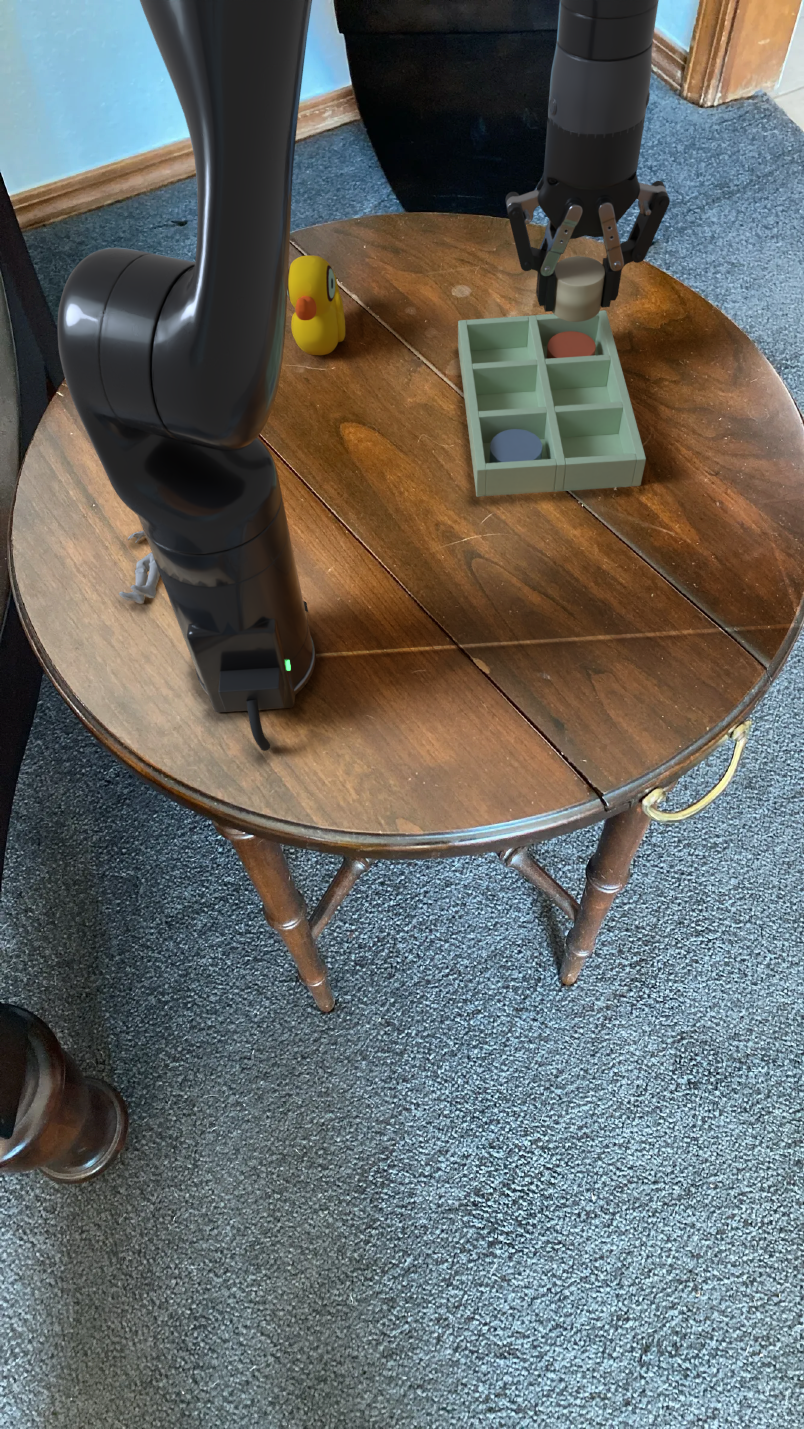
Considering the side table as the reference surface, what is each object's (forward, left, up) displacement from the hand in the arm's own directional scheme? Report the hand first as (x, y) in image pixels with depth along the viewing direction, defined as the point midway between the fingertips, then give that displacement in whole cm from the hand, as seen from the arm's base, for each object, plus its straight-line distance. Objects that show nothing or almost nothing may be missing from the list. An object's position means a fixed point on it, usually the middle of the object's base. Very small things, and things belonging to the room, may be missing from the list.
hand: (575, 303), depth 89 cm
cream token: (0, 0, 0) cm, 0 cm away
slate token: (-14, +7, -6) cm, 17 cm away
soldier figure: (-22, +37, -7) cm, 44 cm away
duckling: (+6, +24, -7) cm, 26 cm away
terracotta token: (0, 0, -6) cm, 6 cm away
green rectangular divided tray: (-7, +3, -7) cm, 10 cm away
